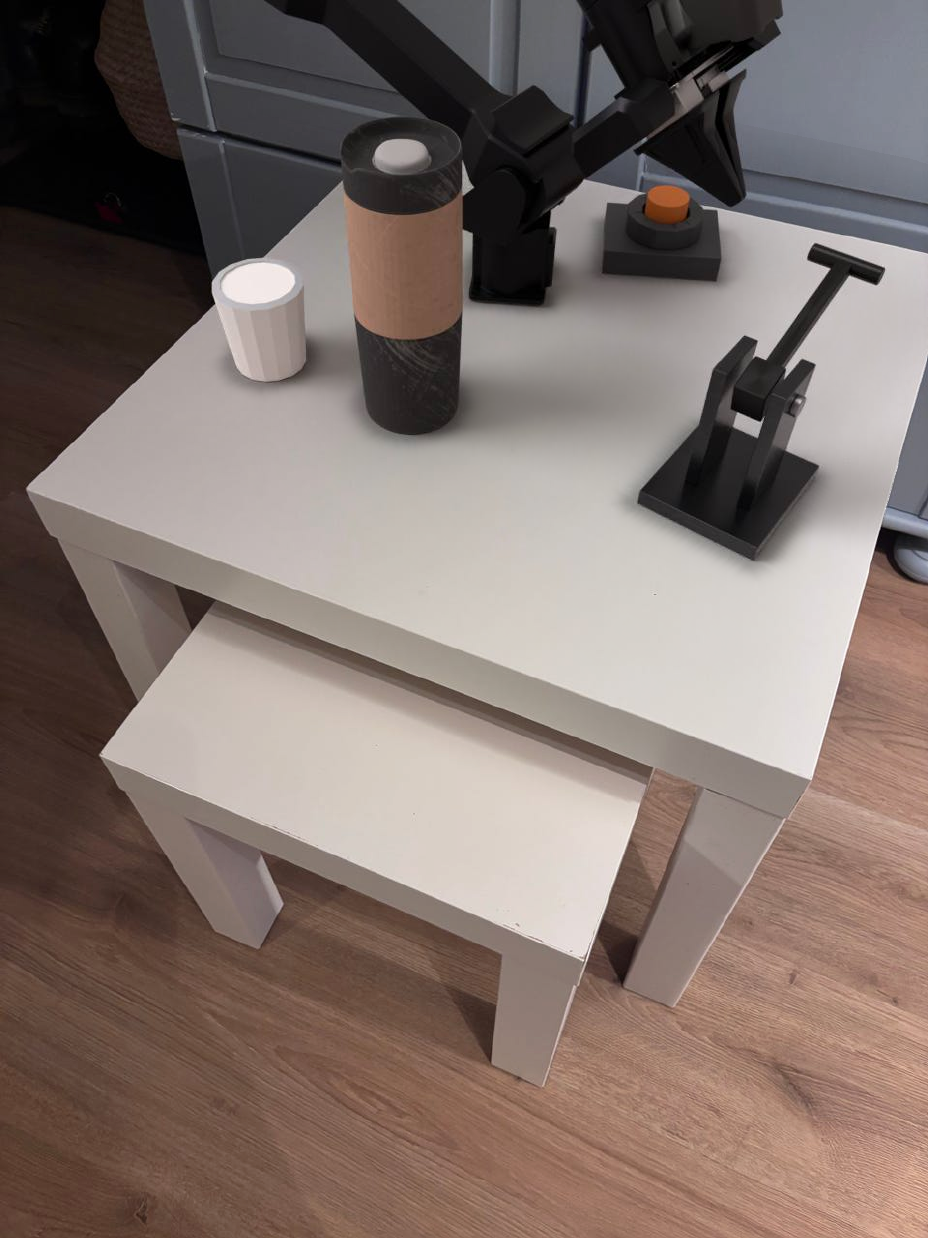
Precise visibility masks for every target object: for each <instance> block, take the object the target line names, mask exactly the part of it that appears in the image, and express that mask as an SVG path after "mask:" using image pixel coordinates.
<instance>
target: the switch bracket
mask: <svg viewBox="0 0 928 1238" xmlns="http://www.w3.org/2000/svg"><path fill="white" fill-rule="evenodd" d="M758 342H759V341H758V339H756V338H753V337H751V336H748V335H745V334H744V335H743V336H742V337H741V338H740V339H739V340H738V341H737V342H736V343H735V344H734V345H733V346H732V348H731V349H730V350H729V351H728V352H727V353H726V355H724V356H723V357H722V359H721V360H720V361H718V362H717V363H716V365H715V366H714V367H713V368H712V371H711V375H710V378H709V382H708V386H707V390H706V395H705V399H704V402H703V407H702V409H701V410H702V411H701V414H700V417H699V418H700V419H699V422H698V425H697V426H696V427H695V428H694V430H692V432H691V433H690V434H689V435H688V436H687V437H686V439H684V440H683V442H682V443H680V445H679V446H678V448H677V449H675V451H674V452H672V454H671V455H670V457H668V459H667V460H666V461H665V462H664V463H663V464H662V465H661V466H660V468H658V470H657V471H656V472H654V474H653V475H652V476H651V477H650V478H649V480H648V481H647V482H646V483H644V486H643V487H642V488H641V489H640V490H638V491H639V492H638V496H637V500H636V503H637V504H639V505H640V506H642V507H644V508H646V509H648V510H651V511H652V512H654V513H656V514H659V515H660V516H663V517H664V518H667V519H669V520H670V521H672V522H674V523H677V524H678V525H680V526H683V527H685V528H687V529H689V530H690V531H693V532H695V533H696V534H699V535H701V536H703V537H704V538H707V539H709V540H711V541H713V542H715V543H717V544H718V545H721V546H723V547H725V548H727V549H728V550H731V551H733V552H735V553H737V554H739V555H741V556H742V557H745V558H747V559H748V560H751V561H754V560H755V558H756V557H757V556H758V555H759V553H760V552H761V550H762V549H763V548H764V546H765V545H766V544H767V542H768V541H769V540H770V538H771V537H772V536H773V534H774V533H775V532H776V530H777V529H778V528H779V527H780V525H781V524H782V522H783V521H784V520H785V518H786V517H787V516H788V514H789V513H790V511H792V509H793V508H794V506H795V505H796V504H797V502H798V501H799V500H800V499H801V497H802V496H803V494H804V493H805V492H806V490H807V489H808V487H809V486H810V485H811V484H812V482H813V481H814V479H815V478H816V476H817V474H818V471H819V468H820V465H818V464H817V463H815V462H812V461H810V460H808V459H805V458H803V457H801V456H798V455H797V454H794V453H792V452H790V451H788V450H787V448H788V444H789V442H790V439H791V437H792V433H793V431H794V428H795V425H796V422H797V420H798V418H799V416H800V415H801V413H802V411H803V409H804V407H805V404H806V403H807V396H806V394H807V391H808V389H809V385H810V383H811V381H812V378H813V375H814V372H815V369H816V366H817V363H815V362H812V361H810V360H807V359H804V358H801V359H800V360H799V361H798V362H797V364H796V365H795V366H794V367H793V369H791V371H790V372H789V373H788V374H787V375H786V376H785V377H784V380H783V381H782V383H781V384H780V385H779V386H778V387H777V388H776V390H775V391H774V392H773V393H772V395H771V398H770V401H769V404H768V407H767V410H766V413H765V416H764V418H763V419H762V422H761V426H760V429H759V433H758V435H757V437H756V436H754V435H752V434H749V433H747V432H745V431H742V430H740V429H738V428H735V427H734V425H735V421H736V418H737V415H738V412H736V411H733V410H731V409H730V407H731V401H732V394H733V388H734V385H735V383H736V382H737V381H738V379H739V378H740V376H741V375H742V374H743V372H744V371H745V369H746V368H747V367H748V365H749V364H750V362H751V361H752V360H753V358H754V357H755V353H756V349H757V345H758Z"/></svg>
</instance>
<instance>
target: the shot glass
mask: <svg viewBox="0 0 928 1238" xmlns="http://www.w3.org/2000/svg"><path fill="white" fill-rule="evenodd" d="M304 287H305V286H304V276H303V273H301V271H300V269H298V268H297V267H296V265H294V264H291V263H289V262H286V261H285V260H282V259H276V258H271V257H270V258H269V257H257V258H247V259H243V260H240V261H238V262H234V263H231V264H229V265H228V266H226V267H224V268H223V269H221V270H220V271H218V273H216V276H215V277H214V278H213V280H212V282H211V294H212V297H213V300H214V303H215V306H216V309H217V312H218V315H219V319H220V322H221V325H222V328H223V331H224V333H225V336H226V341H227V342H228V346H229V349H230V352H231V355H232V358H233V361H234V364H235V367H236V368H237V370H238V371H239V373H240V374H241V375H242V376H245V377H246V378H248V379H249V380H251V381H258V382H263V383H269V382H278V381H279V382H280V381H282V380H285V379H288V378H291V377H293V376H294V375H296V374H297V373H298V372H300V371H301V370H303V367H304V365H305V364H306V362H307V344H306V343H307V340H306V317H305V315H306V313H305V288H304Z"/></svg>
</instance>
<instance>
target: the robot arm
mask: <svg viewBox="0 0 928 1238" xmlns="http://www.w3.org/2000/svg"><path fill="white" fill-rule="evenodd" d="M263 2H265V3H267V4H268V5H270V6H271V7H273V8H274V9H276V10H277V11H279V12H280V13H281V14H283V15H286V16H288V17H291V18H295V19H299V20H303V21H307V22H310V23H314V24H317V25H321V26H323V27H325V28H327V29H328V30H329V31H330V32H332V33H333V34H334V35H335V36H336V37H337V38H338V39H339V40H341V42H342V43H344V44H345V45H346V46H347V47H348V48H349V49H351V51H352V52H353V53H355V54H356V55H357V56H358V57H359V58H360V59H362V60H363V62H364V63H366V64H367V65H368V66H369V67H370V68H371V69H372V70H374V72H376V73H377V75H379V76H380V77H381V78H382V79H383V80H385V82H387V84H389V85H390V86H391V87H392V88H393V89H394V90H395V91H396V92H397V93H399V94H400V95H401V96H402V97H403V98H404V99H405V100H406V101H408V102H409V103H410V104H411V105H412V106H413V107H414V108H415V109H416V110H418V112H420V114H422V115H424V117H425V119H429V120H432V121H436V122H438V123H441V124H443V125H445V126H447V127H449V128H450V129H452V130H453V131H454V132H455V133H456V134H457V135H458V136H459V138H460V140H461V144H462V164H463V166H464V169H465V172H466V175H467V179H468V181H469V183H470V185H471V186H472V187H473V188H471V189H470V190H469V191H468V192H466V193H465V194H463V231H464V232H467V233H470V234H472V236H471V237H472V238H471V241H472V242H471V277H470V282H469V287H468V299H469V300H470V301H474V302H475V301H477V302H488V303H503V304H515V305H516V304H517V305H530V306H542V305H544V304H545V301H546V292H547V289H549V288H551V287H552V284H553V276H554V266H555V265H554V264H555V255H556V244H557V232H558V229H557V228H556V227H555V226H551V219H552V218H551V217H552V211H553V210H554V209H555V208H556V207H558V206H561V205H563V203H564V202H565V200H566V198H567V197H568V196H569V195H570V194H572V193H573V192H574V191H576V190H577V189H578V188H579V187H580V186H581V184H582V183H583V182H584V180H585V179H588V178H589V177H590V176H592V175H594V174H595V173H597V172H598V171H599V170H601V169H602V168H604V167H606V165H608V164H610V163H611V162H612V161H614V160H615V159H616V158H618V157H619V156H621V155H623V154H624V153H625V152H627V151H628V150H630V149H631V148H633V147H634V146H635V145H637V144H638V143H640V142H641V141H642V140H644V139H645V138H646V140H644V141H643V142H642V143H640V144H639V145H638V146H637V147H635V148H634V149H633V151H632V152H633V153H634V154H635V156H637V157H639V156H641V155H645V156H647V157H649V158H651V159H653V160H654V161H656V162H658V163H659V164H661V165H663V166H664V167H666V168H668V169H670V170H672V171H674V172H676V173H677V174H679V175H680V176H682V177H683V178H685V179H686V180H688V181H690V182H691V183H692V184H694V185H695V186H697V187H699V188H700V189H701V190H703V191H704V192H706V193H707V194H709V195H710V196H712V197H713V198H715V199H716V200H718V201H719V202H721V203H723V205H725V206H727V207H729V208H733V207H735V206H737V205H739V204H741V203H742V201H743V200H745V199H746V198H747V189H746V183H745V178H744V174H743V167H742V160H741V155H740V149H739V143H738V138H737V132H736V122H735V113H734V111H735V106H736V105H735V104H736V101H737V98H738V96H739V92H740V89H741V86H742V83H743V82H744V80H745V79H746V78H747V73H748V70H747V69H748V68H744V69H743V70H741V71H740V72H738V73H736V74H735V75H734V76H732V77H731V78H730V77H729V75H728V74H727V73H728V72H729V71H730V70H732V69H734V68H735V67H736V66H738V65H739V64H741V63H742V62H744V61H745V60H746V59H747V58H749V57H751V56H752V55H753V54H755V53H756V52H759V51H760V50H762V49H763V48H764V47H766V46H767V45H769V44H770V43H771V42H772V41H774V40H775V39H776V38H777V37H779V36H780V35H781V34H782V32H781V30H780V27H779V26H778V24H777V22H776V21H777V20H780V19H781V18H782V17H783V16H784V9H783V0H575V2H576V3H577V4H578V7H579V8H580V9H581V11H582V12H581V13H582V14H583V15H584V17H585V19H586V20H587V23H588V25H589V27H590V28H591V29H590V30H589V31H588V32H587V33H586V34H585V35H584V36H583V37H581V41H582V42H583V44H584V47H585V48H586V49H587V53H589V54H590V53H591V52H593V51H595V50H596V49H597V48H599V47H601V48H602V49H603V52H604V53H605V56H606V57H607V59H608V61H609V62H610V64H611V66H612V67H613V69H614V72H615V73H616V75H617V77H618V79H619V80H620V82H621V84H622V86H623V87H624V88H622V89H621V90H620V91H618V92H617V93H615V95H613V99H614V101H613V102H611V103H610V104H609V105H607V106H606V107H605V108H603V109H602V110H601V111H600V112H598V113H597V114H596V115H594V116H593V117H592V118H590V119H589V120H588V121H586V122H585V123H584V124H582V125H581V126H580V127H578V128H576V126H574V125H573V124H571V123H572V122H573V121H574V120H575V116H574V115H573V114H571V113H568V112H566V111H564V110H562V109H561V108H559V107H558V106H557V105H556V104H555V103H554V101H552V99H550V97H549V96H548V95H547V93H546V92H545V91H544V90H543V89H541V88H540V87H538V86H537V85H535V84H532V85H530V86H529V87H527V88H525V89H524V90H522V91H521V92H519V93H518V94H517V95H515V96H513V95H510V94H506V93H502V92H500V91H499V90H498V89H496V88H495V87H494V86H493V85H491V84H490V83H489V82H488V81H487V80H486V79H485V78H484V77H483V76H482V75H481V74H480V73H478V72H477V70H475V69H474V68H473V67H471V66H470V65H469V64H468V62H466V61H465V60H464V59H463V58H462V57H461V56H460V55H459V54H458V53H456V52H455V51H454V50H453V49H452V48H451V47H450V46H448V45H447V44H446V42H444V41H443V40H442V39H441V38H440V37H438V35H436V34H435V33H434V32H433V31H432V30H431V29H430V28H429V27H428V26H426V25H425V24H424V23H423V22H422V21H421V20H420V19H419V18H418V17H417V16H415V15H414V13H412V12H411V11H410V10H409V9H408V8H407V7H405V6H404V5H403V3H401V2H400V1H399V0H263Z"/></svg>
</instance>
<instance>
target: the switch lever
mask: <svg viewBox="0 0 928 1238" xmlns="http://www.w3.org/2000/svg"><path fill="white" fill-rule="evenodd" d="M806 257H807V258H806V261H808V262H811V263H813V264H816V265H819V266H821V267H824V268H827V269H829V270H828V271H827V273H826V274H825V276H824V277H823V279H822V280H821V281H820V283H819V284H818V286H817V287H816V288H815V290H814V291H813V293H812V294H811V296H810V297H809V299H808V300H807V301H806V303H805V304H804V305H803V307H802V308H801V309H800V310H799V312H798V314H797V315H796V317H795V318H794V319H793V321H792V323H791V324H790V325H789V327H788V328H787V329H786V331H785V332H784V334H783V335H782V337H781V338H780V340H779V341H778V342H777V344H776V345H775V347H773V349H772V350H771V352H770V354H769V355H768V356H767V358H766V359H764V358H762V357H759V356H757V355H754V356H753V360H752V361H751V362H750V364H749V365H748V367H747V368H746V369H745V371H744V372H743V374H742V375H741V376H740V378H739V379H738V381H737V382H736V383H735V385H734V388H733V394H732V401H731V407H730V409H731V410H733V411H736V412H737V414H740V415H743V416H745V417H747V418H749V419H751V420H755V421H756V422H759V423H762V422H763V420H764V416H765V413H766V410H767V407H768V404H769V401H770V398H771V395H772V393H773V392H774V391H775V390H776V388H777V387H778V386H779V385H780V384H781V383H782V381H783V380H784V379H785V378H786V373H787V368H786V367H787V366H788V364H789V363H790V362H791V360H792V359H793V357H794V356H795V354H797V351H798V350H799V349H800V348H801V345H802V344H803V343H804V341H805V340H806V338H807V337H808V335H809V334H810V333H811V332H812V330H813V329H814V327H815V326H816V324H817V322H818V321H819V320H820V319H821V317H822V316H823V314H824V313H825V312H826V310H827V308H828V307H829V305H830V304H831V303H832V302H833V300H834V299H835V297H836V295H837V294H838V293H839V291H840V290H841V288H842V287H843V286H844V284H845V282H846V281H847V280H848V279H849V277H851V278H854V279H857V280H860V281H862V282H866V283H868V284H871V285H872V286H878V285H879V284H880V282H881V281H882V279H883V277H884V275H885V273H886V267H885V266H882V265H879V264H877V263H873V262H870V261H868V260H865V259H862V258H859V257H858V256H857V257H856V256H854V255H851V254H848V253H845V252H843V251H840V250H838V249H835V248H832V247H830V246H829V247H828V246H826V245H824V244H820V243H818V242H814V243H813V244H812V246H811V247H810V249H809V251H808V254H807V256H806Z"/></svg>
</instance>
